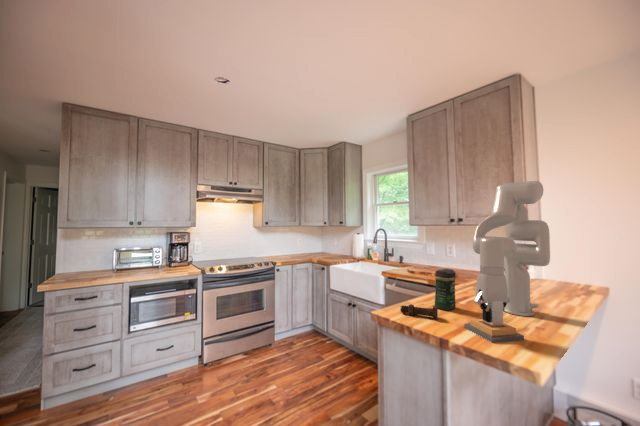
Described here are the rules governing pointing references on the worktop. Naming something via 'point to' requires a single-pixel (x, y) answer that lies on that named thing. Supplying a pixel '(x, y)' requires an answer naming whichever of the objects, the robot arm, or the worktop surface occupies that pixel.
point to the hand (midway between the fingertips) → (492, 320)
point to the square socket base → (494, 331)
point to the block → (495, 314)
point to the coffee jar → (445, 289)
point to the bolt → (420, 311)
